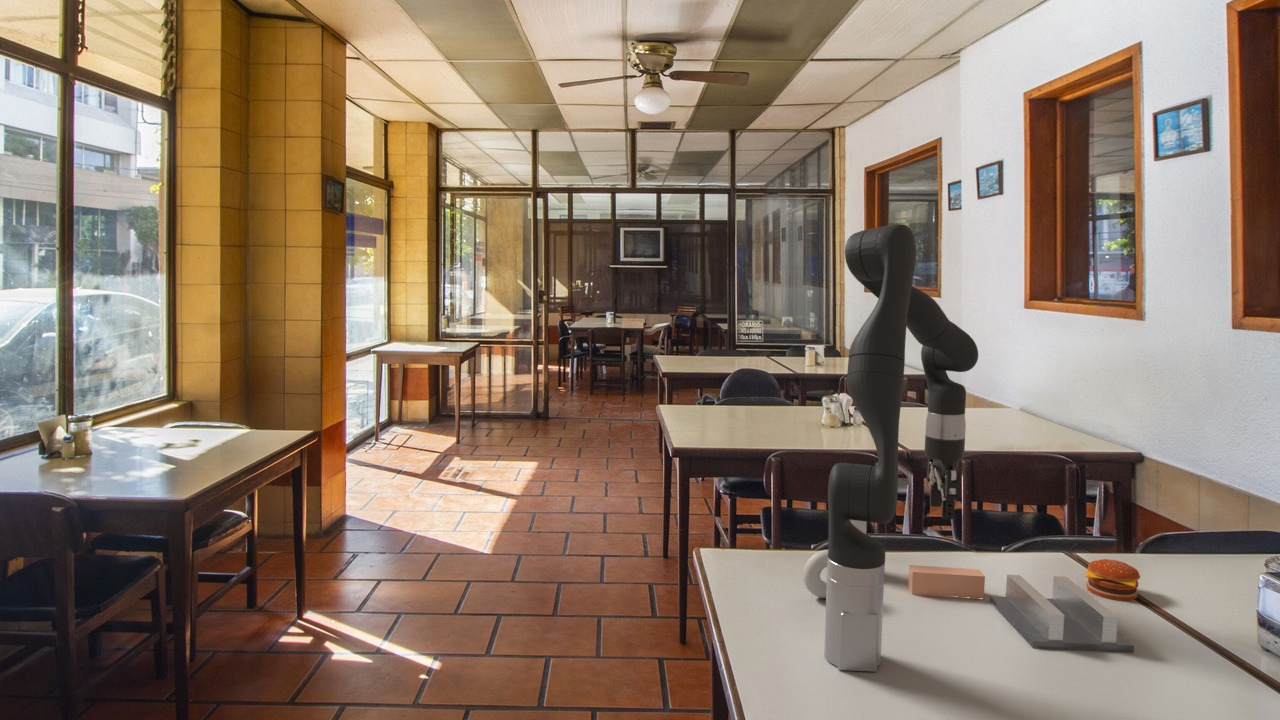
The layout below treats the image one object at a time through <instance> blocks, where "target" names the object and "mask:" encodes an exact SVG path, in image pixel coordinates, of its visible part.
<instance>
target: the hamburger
mask: <svg viewBox="0 0 1280 720" xmlns="http://www.w3.org/2000/svg"><path fill="white" fill-rule="evenodd" d="M1086 570H1087V571H1086V574H1085V578H1087V579H1088V581H1087V583H1086V588H1087V590H1088V591H1089V592H1090V593H1091V594H1094V595H1096V596H1098V597H1101V598H1104V599H1107V600H1113V601H1114V600H1115V601H1121V602H1122V601H1126V602H1127V601H1133V600H1135V599H1137V598H1138V597H1139V596H1138V594H1139V593H1138V591H1137V590H1138V587H1139V582H1138V580H1140V579H1141V575H1140V572H1139V570H1138V569H1137V568H1136V567H1133V566H1132V565H1129V564H1128V563H1126V562H1123V561H1121V560H1120V561H1119V560H1116V559H1107V558H1106V559H1105V558H1104V559H1097V560H1092V561H1090V562H1089V563H1088V567H1087V569H1086Z"/></svg>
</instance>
